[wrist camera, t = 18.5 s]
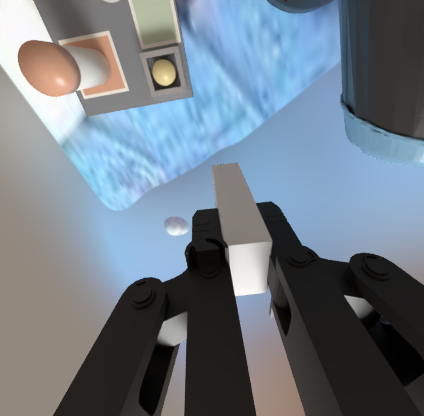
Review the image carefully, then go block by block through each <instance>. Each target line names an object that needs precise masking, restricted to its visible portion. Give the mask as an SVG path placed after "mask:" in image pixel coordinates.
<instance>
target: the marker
mask: <svg viewBox="0 0 424 416" xmlns="http://www.w3.org/2000/svg"><path fill="white" fill-rule="evenodd" d="M18 63H19V66H20V69H21V72H22V73H23V75H24V77H25V78H26V80H27V81H28V82H29V83H30V84H31V85H32V86H33V87H34V88H35V89H36V90H38V91H39V92H41V93H43V94H45V95H48V96H53V97H57V96H62V95H66V94H70V93H73V92H75V91H78V90H82V89H87V88H91V87H95V86H99V85H103V84H106V83H107V82H108V81H109V80H110V78H111V66H110V63H109V61H108V59H107V58H106V57H105V56H104V55H103V54H102V53H101V52H100V51H98V50H95V49H90V48H82V47H74V46H66V45H58V44H55V43H52V42H44V41H37V40H31V41H27V42H25V43H24V44H23V45H22V46H21V47H20V49H19V52H18Z"/></svg>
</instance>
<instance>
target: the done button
mask: <svg viewBox="0 0 424 416" xmlns="http://www.w3.org/2000/svg"><path fill="white" fill-rule="evenodd" d="M153 76H154V79H155V80H156V81H157V82H158V83H159V84H161V85H164V86H167V85H170V84H171V83H173V82H174V80H175V78H176V69H175V67H174V65H173V64H172V63H171V62H170V61H168V60H164V59H161V60H158V61H156V62H155V64H154V66H153Z"/></svg>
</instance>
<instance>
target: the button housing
mask: <svg viewBox="0 0 424 416" xmlns="http://www.w3.org/2000/svg"><path fill="white" fill-rule="evenodd" d="M139 54H140V57H141V61H142V64H143V68H144V71H145V75H146V78H147V82H148V85H149V89H150V92H151V96H152V97H155V96H160V95H165V94H171V93H176V92H182V91H187V85H186V80H185V75H184V70H183V65H182V60H181V54H180V49H179V47H178V46H175V47H170V48H165V49H159V50H154V51H149V52H144V53H139ZM173 54H175V59H176V63H177V68H178V73H179V78H180V83H181V85H180V86H175V87H169V88H164V89H159V90H157V87H156V83H155V79H154V76H153V72H152V68H151V64H150V60H149V59H152V58H157V57H162V56H167V55H173Z"/></svg>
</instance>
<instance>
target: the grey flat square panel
mask: <svg viewBox="0 0 424 416" xmlns="http://www.w3.org/2000/svg"><path fill="white" fill-rule="evenodd" d="M34 3H35V5H36V7H37V9H38V11H39V13H40V16H41V18H42V20H43V22H44V24H45V26H46V29H47V31H48V33H49V35H50V37H51V39H52V42H53V43H55V44H58V45H66V46H74V47H82V48H90V49H95V50H98V51H100V52H101V53H102V54H103V55H104V56H105V57H106V58H107V59H108V61H109V63H110V66H111V78H110V80H109V81H108V82H107V83H106V84H103V85H99V86H95V87H91V88H87V89H82V90H78V91H76V93H77V96H78V98H79V100H80V102H81V104H82V106H83V108H84V111H85V113H86V115H87V116H92V115H98V114H103V113H109V112H114V111H119V110H125V109H130V108H136V107H141V106H147V105H152V104H157V103H163V102H168V101H174V100H179V99H184V98H190V97H193V93H192V88H191V83H190V77H189V72H188V66H187V61H186V55H185V50H184V45H183V39H182V34H181V28H180V23H179V17H178V12H177V7H176V1H175V0H34ZM175 46H178V47H179V49H180V54H181V60H182V65H183V70H184V75H185V80H186V85H187V91H182V92H176V93H171V94H165V95H160V96H155V97H152V96H151V92H150V89H149V85H148V82H147V78H146V75H145V71H144V68H143V64H142V61H141V57H140V54H139V53H144V52H149V51H154V50H159V49H165V48H170V47H175ZM161 59H164V60H168V61H170V62H171V63H172V64H173V65H174V67H175V69H176V78H175V80H174V82H173V83H171V84H170V85H167V86H164V85H161V84H159V83H158V82H157V81H156V80H155V83H156V87H157V90H159V89H164V88H169V87H175V86H180V85H181V83H180V78H179V73H178V68H177V63H176V59H175V54H173V55H167V56H162V57H157V58H152V59H149V60H150V64H151V68H152V72H153V66H154V64H155V62H156V61H158V60H161Z"/></svg>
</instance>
